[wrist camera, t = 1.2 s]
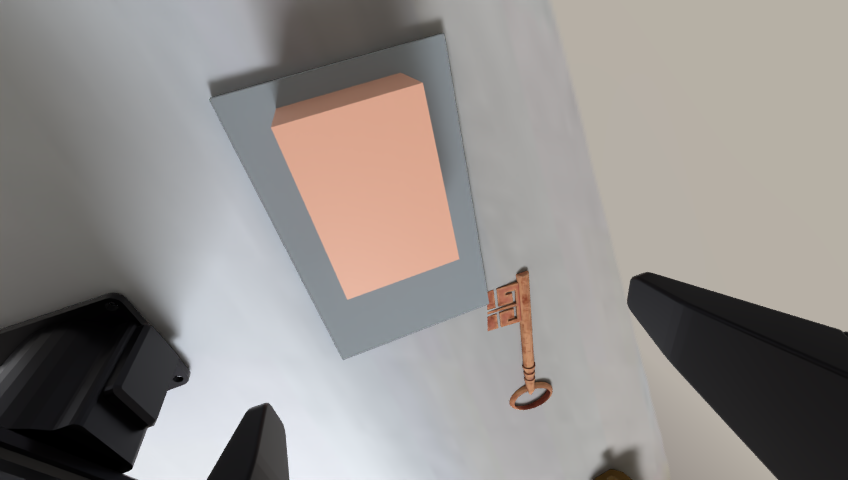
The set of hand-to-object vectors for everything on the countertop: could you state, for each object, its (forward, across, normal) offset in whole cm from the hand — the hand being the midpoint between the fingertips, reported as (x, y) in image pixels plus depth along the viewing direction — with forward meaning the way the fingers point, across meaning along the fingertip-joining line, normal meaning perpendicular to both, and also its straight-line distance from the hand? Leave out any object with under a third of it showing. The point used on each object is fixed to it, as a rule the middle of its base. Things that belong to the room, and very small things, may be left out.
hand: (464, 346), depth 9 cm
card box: (+12, +1, 0) cm, 12 cm away
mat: (+12, 0, +3) cm, 12 cm away
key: (+13, -7, +17) cm, 22 cm away
